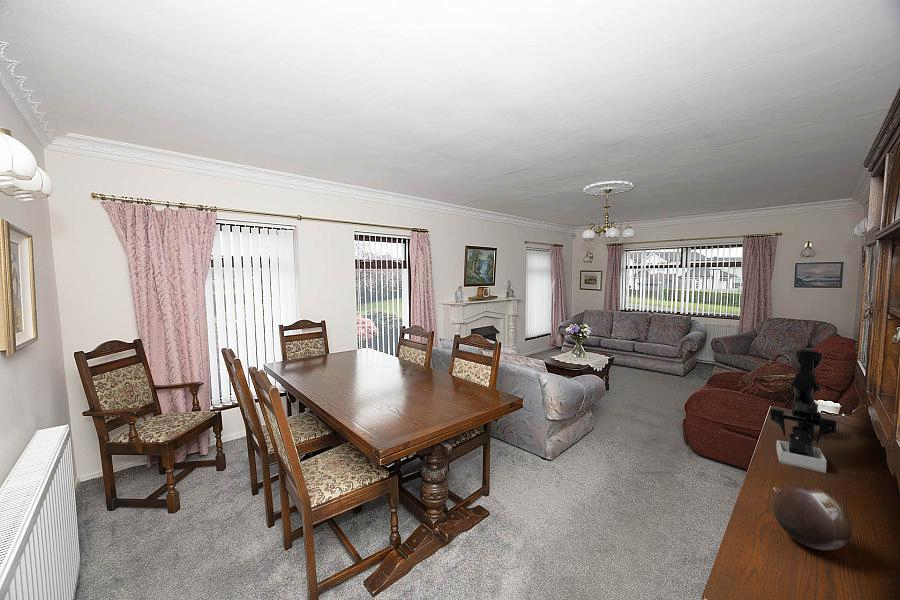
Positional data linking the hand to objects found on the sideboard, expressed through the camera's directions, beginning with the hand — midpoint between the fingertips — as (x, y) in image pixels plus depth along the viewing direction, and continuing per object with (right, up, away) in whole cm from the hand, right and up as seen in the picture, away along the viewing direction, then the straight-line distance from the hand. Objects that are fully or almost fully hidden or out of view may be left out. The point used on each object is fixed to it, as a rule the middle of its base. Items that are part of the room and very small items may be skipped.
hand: (800, 439), depth 140 cm
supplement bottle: (+1, -8, +1) cm, 8 cm away
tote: (+1, -9, +1) cm, 9 cm away
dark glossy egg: (-39, -12, -42) cm, 59 cm away
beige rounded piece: (-29, -11, -26) cm, 40 cm away
